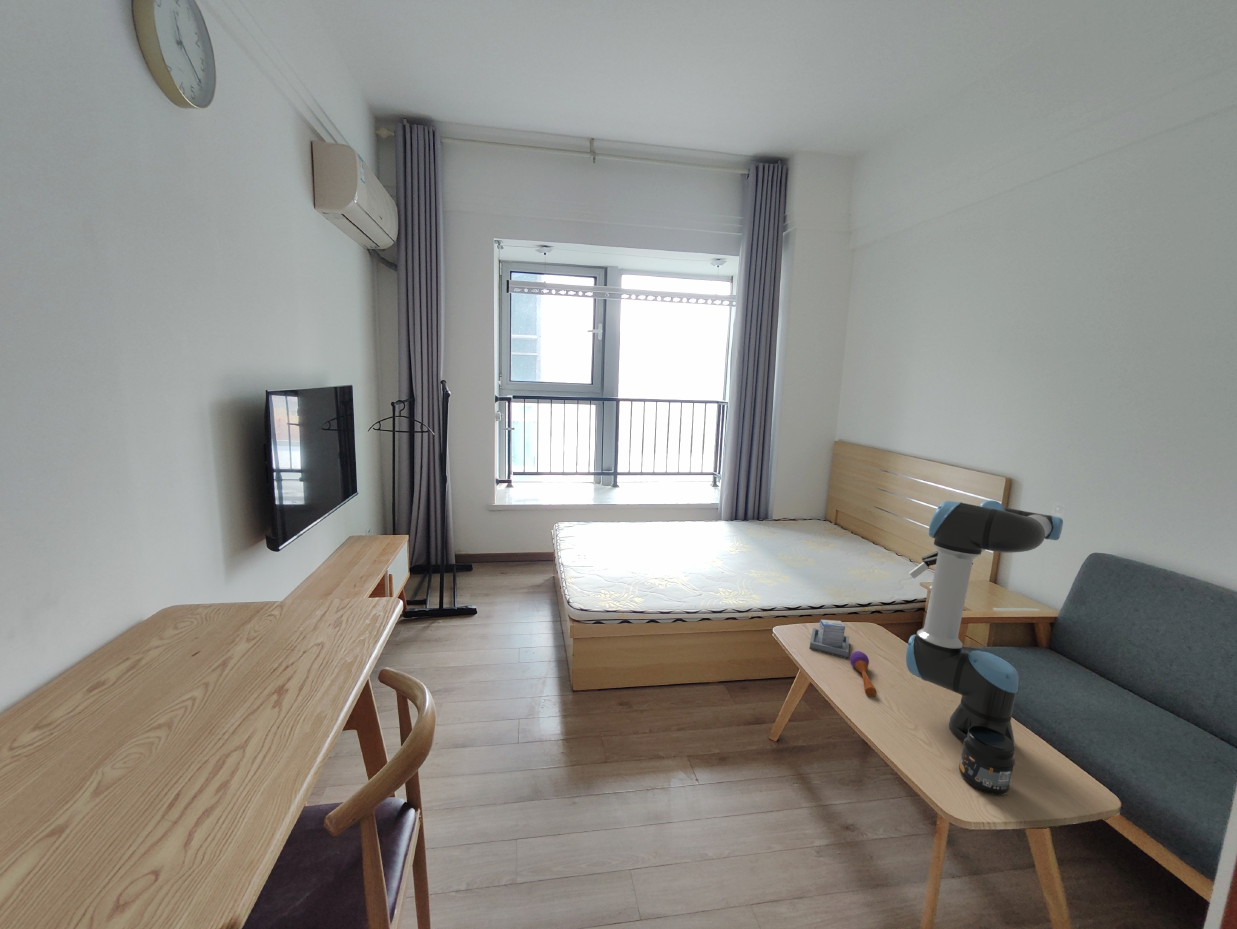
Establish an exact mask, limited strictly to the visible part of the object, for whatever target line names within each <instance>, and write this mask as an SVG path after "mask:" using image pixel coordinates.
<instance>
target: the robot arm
mask: <svg viewBox="0 0 1237 929" xmlns="http://www.w3.org/2000/svg"><path fill="white" fill-rule="evenodd" d="M930 520H931V521H930V523H929V526H928V536H929V537H930V538H931V539H933V540H934V541H933V546H934V547H935V548H936V549H937V550H936V551H934V552H931V553H929V554H927V555H924V556H922V557H921V560H922V562H921V563H919V564H918V565H916V566H915V567H914V568H913V569H912V570H911V571H909V572H908V574H909V575H910V576H911V577H912V578H913V579H916V578H917V577H918V576H920V575H921V574H922V573H924V572H925V571H927V570H928V569H929V568H930V567H931V566H934V565H935V568H934V572H933V573H934V574H933V579H932V584H931V585H930V586H929V590H930V594H929V601H928V605H927V611H926V616H925V620H924V625H923V627H922V628H921V629H918V630H917V631H916V634H912V635H911V636H910V637H909V639H908V641H907V642H908V643H907V646H906V652H905V664H906V668H907V670H908V671H909V673H910V674H912V675H914V676H915V677H918V678H920V679H921V680H923V681H925V682H929V683H932V684H934V685H937V686H939V687H940V688H941V687H942V688H944V689H946V690H949V691H951V692H954V693H955V694H958V695H961V700H960V703H959V704H958V706H957V707H956V709H955V710H954V712H952V714H951V716H950V717H949V722H948V728H949V730H950V732H951V734H952V735H953V736H954V737H955V738H957V739H958V740H959V741H961V742H962V743H963V742H964V739H965V738H966V737H967V734H968V730H969V728H970V727H973V726H983V727H987V728H991V729H993V730H996V731H998V732H1000V733H1002V734H1003V735H1005V736H1006V737H1008V738H1009V739H1010V740H1011V741H1012V742H1013V744H1014V745H1015V737H1014V732H1013V726H1012V716H1013V712H1014V711H1013V710H1014V705H1015V702H1016V695H1017V692H1018V691H1019V680H1020V676H1019V673H1018V670H1016V668H1015V667H1014V666H1013V665H1011V664H1010V663H1009V662H1008V661H1006V660H1005V659H1004V658H1001V657H999V656H997V655H995V654H993V653H992V652H991V653H990V652H987V651H982V650H972V651H971V652H969V653H967V652H964V651H963V645H964V644H963V642H962V641H961V640H960V638H959V632H960V630H961V629H960V628H961V624H962V623H961V622H962V618H963V617H962V616H963V612H964V609H965V603H966V602H965V601H966V597H967V593H968V589H969V588H968V587H969V581H970V577H971V572H972V568H973V567H972V566H973V565H974V563H973V562H974V559H975V558H977V557H979V556H981V554H982V553H983V552H984V551H986V550H987V551H991V552H996V553H1003V554H1005V553H1008V554H1009V553H1010V554H1013V553H1022V552H1029V551H1032V550H1035V549H1036V548H1038V547H1039V546H1041V545H1042V544H1043V542H1044V541H1045V540H1050V541H1052V540H1053V541H1059V539H1060V537H1061V534H1062V530H1063V526H1064V520H1063V519H1062V517H1057V516H1054V515H1051V514H1049V515H1048V514H1044V513H1043V514H1042V513H1039V512H1038V513H1036V512H1030V511H1026V510H1021V509H1015V508H1011V507H1006V506H1004V505H1003V504H1002V503H1001V502H998V501H996V500H985V501H982V502H981V503H980V504H979V505H975V504H971V503H965V502H962V501H951V500H946V501H943V502H941V503H940V504H939V505H938V506H937V508H936V509H935V511H934V514H933V516H932V517H931V519H930Z"/></svg>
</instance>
